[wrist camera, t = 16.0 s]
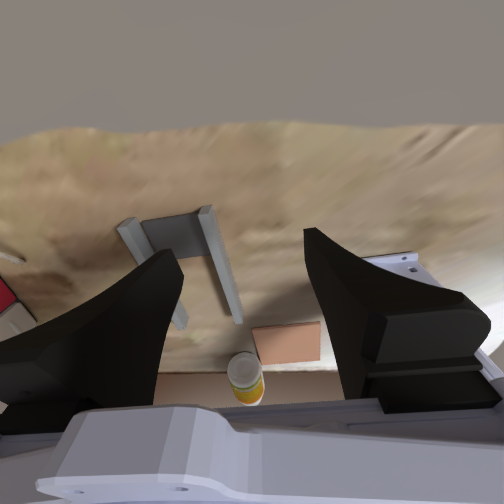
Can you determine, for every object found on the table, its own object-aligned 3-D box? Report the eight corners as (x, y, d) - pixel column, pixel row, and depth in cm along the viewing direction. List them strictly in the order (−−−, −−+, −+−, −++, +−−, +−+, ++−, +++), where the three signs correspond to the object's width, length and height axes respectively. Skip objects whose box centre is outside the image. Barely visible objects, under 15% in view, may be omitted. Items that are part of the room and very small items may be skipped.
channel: (211, 204, 21) (208, 213, 20) (243, 311, 30) (242, 323, 29) (126, 218, 22) (116, 228, 21) (181, 318, 31) (178, 330, 30)
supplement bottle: (223, 385, 32) (234, 411, 38) (259, 387, 31) (265, 413, 37) (230, 350, 37) (238, 378, 42) (262, 351, 36) (266, 379, 41)
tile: (319, 321, 32) (320, 323, 31) (319, 358, 37) (320, 360, 37) (251, 328, 33) (251, 330, 32) (261, 362, 38) (261, 365, 38)
